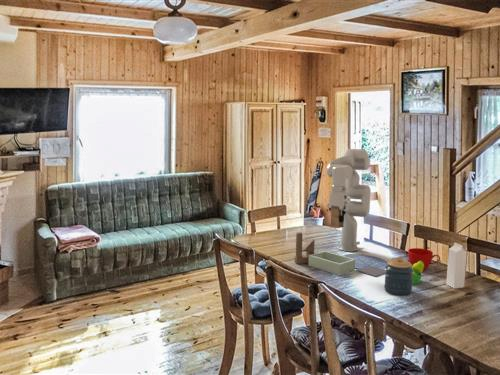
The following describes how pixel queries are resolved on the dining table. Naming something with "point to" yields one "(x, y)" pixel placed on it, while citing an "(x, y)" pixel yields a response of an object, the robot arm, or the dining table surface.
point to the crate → (331, 262)
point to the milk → (456, 266)
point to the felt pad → (371, 271)
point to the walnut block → (335, 217)
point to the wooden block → (303, 249)
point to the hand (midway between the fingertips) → (337, 220)
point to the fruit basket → (417, 272)
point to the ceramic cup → (421, 256)
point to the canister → (398, 277)
